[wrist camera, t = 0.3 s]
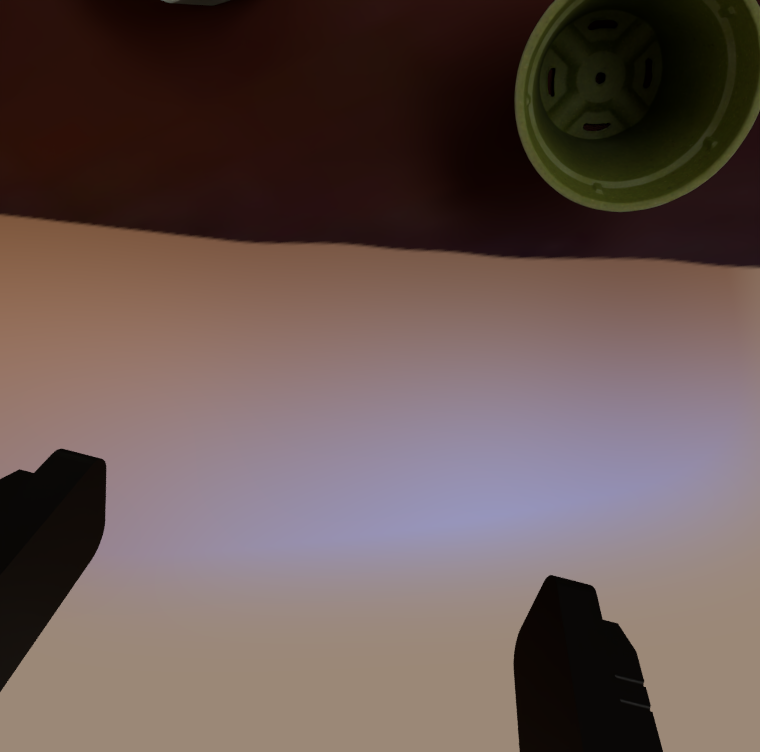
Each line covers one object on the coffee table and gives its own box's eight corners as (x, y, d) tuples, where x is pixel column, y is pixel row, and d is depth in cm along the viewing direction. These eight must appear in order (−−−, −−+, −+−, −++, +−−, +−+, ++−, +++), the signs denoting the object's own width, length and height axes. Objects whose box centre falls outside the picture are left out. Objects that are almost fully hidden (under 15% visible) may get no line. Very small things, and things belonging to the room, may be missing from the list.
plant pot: (500, -20, 32) (511, -32, 24) (708, -49, 30) (790, -73, 23) (506, 179, 36) (517, 221, 28) (688, 161, 35) (752, 201, 27)
